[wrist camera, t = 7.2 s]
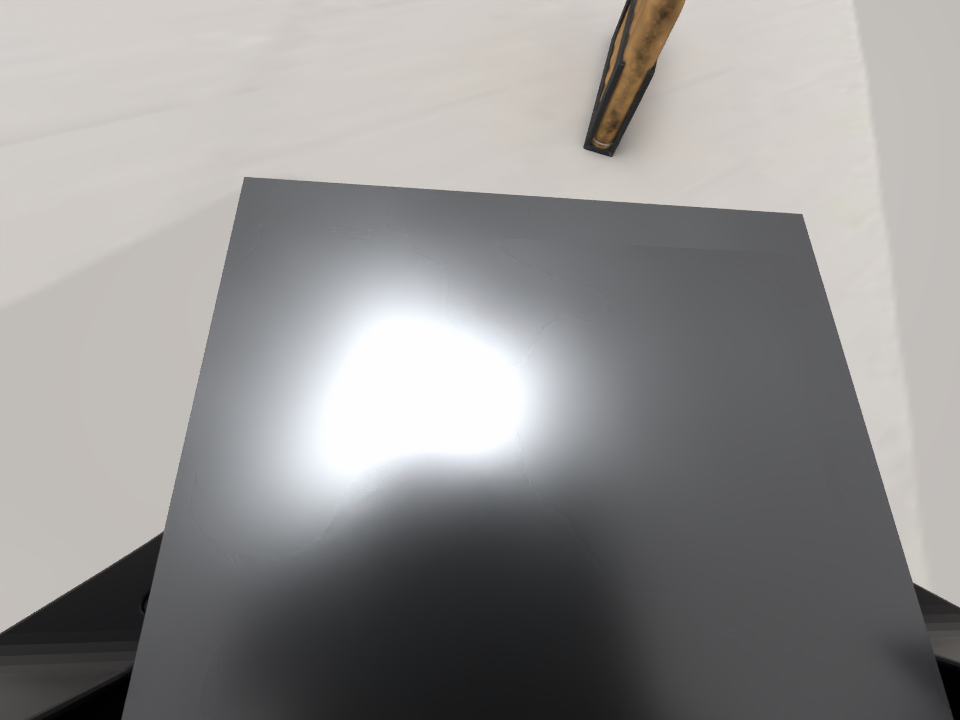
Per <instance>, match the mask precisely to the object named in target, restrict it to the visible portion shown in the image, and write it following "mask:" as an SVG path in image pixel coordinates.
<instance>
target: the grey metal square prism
mask: <svg viewBox="0 0 960 720" xmlns="http://www.w3.org/2000/svg"><path fill="white" fill-rule="evenodd" d="M121 720H954V719H953V715H952V712H951V709H950V705H949V702H948V699H947V695H946V692H945V689H944V685H943V682H942V679H941V675H940V672H939V669H938V665H937V662H936V659H935V655H934V652H933V649H932V645H931V642H930V639H929V635H928V632H927V629H926V625H925V622H924V619H923V615H922V612H921V609H920V605H919V602H918V599H917V595H916V592H915V589H914V585H913V582H912V579H911V575H910V572H909V569H908V565H907V562H906V559H905V555H904V552H903V549H902V545H901V542H900V539H899V535H898V532H897V529H896V525H895V522H894V519H893V515H892V512H891V509H890V505H889V502H888V499H887V495H886V492H885V489H884V485H883V482H882V479H881V475H880V472H879V469H878V465H877V462H876V459H875V455H874V452H873V449H872V445H871V442H870V439H869V435H868V432H867V429H866V425H865V422H864V419H863V415H862V412H861V409H860V405H859V402H858V399H857V395H856V392H855V389H854V385H853V382H852V379H851V375H850V372H849V369H848V365H847V362H846V359H845V355H844V352H843V349H842V345H841V342H840V339H839V335H838V332H837V329H836V325H835V322H834V319H833V315H832V312H831V309H830V305H829V302H828V299H827V295H826V292H825V289H824V285H823V282H822V279H821V275H820V272H819V269H818V265H817V262H816V259H815V255H814V252H813V249H812V245H811V242H810V239H809V235H808V232H807V229H806V225H805V222H804V219H803V215H802V214H792V213H777V212H762V211H747V210H732V209H717V208H702V207H687V206H672V205H657V204H642V203H627V202H612V201H597V200H582V199H567V198H552V197H537V196H522V195H507V194H492V193H477V192H462V191H447V190H432V189H417V188H402V187H387V186H372V185H357V184H342V183H327V182H312V181H297V180H282V179H267V178H252V177H244V181H243V185H242V190H241V194H240V199H239V203H238V207H237V212H236V216H235V221H234V225H233V230H232V234H231V238H230V243H229V247H228V251H227V256H226V260H225V265H224V269H223V274H222V278H221V283H220V287H219V291H218V296H217V300H216V304H215V309H214V313H213V318H212V322H211V326H210V331H209V336H208V340H207V344H206V348H205V353H204V357H203V362H202V366H201V371H200V375H199V379H198V384H197V388H196V393H195V397H194V401H193V406H192V410H191V415H190V419H189V423H188V428H187V432H186V437H185V442H184V446H183V450H182V454H181V460H180V463H179V468H178V473H177V477H176V481H175V485H174V490H173V494H172V498H171V503H170V507H169V512H168V516H167V521H166V525H165V530H164V534H163V538H162V543H161V547H160V551H159V556H158V560H157V565H156V569H155V573H154V578H153V582H152V587H151V591H150V595H149V600H148V604H147V609H146V613H145V618H144V622H143V626H142V631H141V635H140V640H139V644H138V648H137V653H136V657H135V662H134V666H133V670H132V675H131V679H130V684H129V688H128V693H127V697H126V701H125V706H124V710H123V715H122V719H121Z"/></svg>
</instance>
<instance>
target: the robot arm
mask: <svg viewBox="0 0 960 720" xmlns="http://www.w3.org/2000/svg"><path fill="white" fill-rule="evenodd" d="M163 534H164V531H163V532H162V533H160V534H159V535H157V536H156V537H154V538H153V539H152V540H150V541H149V542H147V543H146V544H144V545H142V546H141V547H139V548H138V549H136V550H134V551H133V552H131V553H130V554H128V555H127V556H125V557H123V558H122V559H120V560H119V561H117V562H116V563H114V564H112V565H111V566H109V567H108V568H106V569H104V570H103V571H101V572H100V573H98V574H96V575H95V576H93V577H91V578H90V579H88V580H87V581H85V582H83V583H82V584H80V585H78V586H77V587H75V588H73V589H72V590H70V591H69V592H67V593H65V594H64V595H62V596H60V597H59V598H57V599H56V600H54V601H52V602H51V603H49V604H47V605H46V606H44V607H43V608H41V609H39V610H38V611H36V612H34V613H33V614H31V615H30V616H28V617H26V618H25V619H23V620H21V621H20V622H18V623H16V624H15V625H13V626H12V627H10V628H8V629H7V630H5V631H3V632H2V633H0V720H121V719H122V715H123V710H124V706H125V701H126V697H127V693H128V688H129V684H130V679H131V675H132V670H133V666H134V662H135V657H136V653H137V648H138V644H139V640H140V635H141V631H142V626H143V622H144V618H145V613H146V609H147V604H148V600H149V595H150V591H151V587H152V582H153V578H154V573H155V569H156V565H157V560H158V556H159V551H160V547H161V543H162V538H163ZM913 585H914V589H915V592H916V595H917V599H918V602H919V605H920V609H921V612H922V615H923V619H924V622H925V625H926V629H927V632H928V635H929V639H930V642H931V645H932V649H933V652H934V655H935V659H936V662H937V665H938V669H939V672H940V675H941V679H942V682H943V685H944V689H945V692H946V695H947V699H948V702H949V705H950V709H951V712H952V715H953V719H954V720H960V607H958V606H956V605H954V604H952V603H950V602H948V601H946V600H944V599H943V598H941V597H939V596H937V595H935V594H933V593H931V592H930V591H928V590H926V589H924V588H922V587H920V586H918V585H917V584H915V583H913Z"/></svg>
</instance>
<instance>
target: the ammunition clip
mask: <svg viewBox="0 0 960 720" xmlns="http://www.w3.org/2000/svg"><path fill="white" fill-rule="evenodd" d="M684 3H685V0H627V1H626V4H625V6H624V9H623V11H622V14H621V17H620V19H619V22H618V24H617V27H616V30H615V32H614V35H613V37H612V41H611V45H610V49H609V52H608V56H607V60H606V64H605V68H604V71H603V75H602V79H601V83H600V87H599V90H598V94H597V98H596V102H595V106H594V109H593V113H592V117H591V121H590V125H589V128H588V132H587V136H586V140H585V144H584V148H586V149H589V150H593V151H596V152H599V153H602V154H606V155H609V156H613V154H614V152H615V150H616V148H617V146H618V144H619V142H620V140H621V138H622V136H623V134H624V132H625V130H626V128H627V126H628V124H629V122H630V121H631V119H632V117H633V115H634V113H635V111H636V109H637V107H638V105H639V103H640V101H641V99H642V97H643V95H644V93H645V91H646V89H647V87H648V85H649V83H650V81H651V79H652V77H653V75H654V73H655V68H656V63H657V58H658V56H659V54H660V52H661V50H662V48H663V46H664V44H665V42H666V40H667V38H668V36H669V34H670V32H671V30H672V28H673V26H674V25H675V23H676V21H677V19H678V17H679V15H680V13H681V10H682V8H683V6H684Z"/></svg>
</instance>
